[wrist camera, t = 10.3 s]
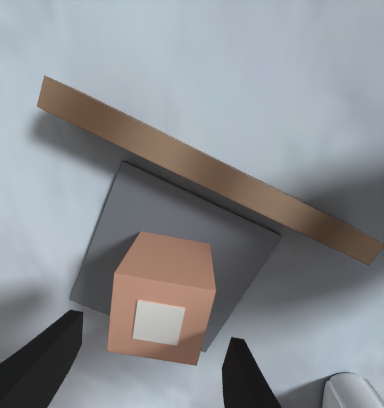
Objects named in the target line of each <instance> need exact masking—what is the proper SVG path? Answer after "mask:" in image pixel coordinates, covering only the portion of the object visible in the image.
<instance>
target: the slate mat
mask: <svg viewBox="0 0 384 408" xmlns="http://www.w3.org/2000/svg"><path fill="white" fill-rule="evenodd" d="M141 231H142V232H147V233H153V234H158V235H164V236H169V237H175V238H180V239H186V240H192V241H197V242H203V243H208V244H210V248H211V256H212V264H213V271H214V279H215V286H216V293H215V297H214V301H213V305H212V308H211V312H210V316H209V320H208V324H207V328H206V332H205V335H204V339H203V343H202V347H201V351H203V352H206V351H207V349H208V348H209V346H210V345H211V343H212V341H213V340H214V338H215V337H216V335H217V334H218V332H219V331H220V329H221V328H222V326H223V325H224V323H225V322H226V320H227V319H228V317H229V316H230V314H231V313H232V311H233V310H234V308H235V307H236V305H237V304H238V302H239V300H240V299H241V297H242V296H243V294H244V293H245V291H246V290H247V288H248V287H249V285H250V284H251V282H252V281H253V279H254V278H255V276H256V275H257V273H258V272H259V270H260V269H261V267H262V266H263V264H264V263H265V261H266V259H267V258H268V256H269V255H270V253H271V252H272V250H273V249H274V247H275V246H276V244H277V243H278V241H279V240H280V238H281V237H282V236H281V235H280V234H278V233H276V232H274V231H272V230H270V229H267V228H265V227H263V226H261V225H259V224H257V223H255V222H253V221H251V220H248V219H246V218H244V217H242V216H240V215H238V214H236V213H234V212H231V211H229V210H227V209H225V208H223V207H221V206H219V205H217V204H215V203H212V202H210V201H208V200H206V199H204V198H202V197H200V196H198V195H195V194H193V193H191V192H189V191H187V190H185V189H183V188H181V187H179V186H176V185H174V184H172V183H170V182H168V181H166V180H164V179H162V178H159V177H157V176H155V175H153V174H151V173H149V172H147V171H145V170H142V169H140V168H138V167H136V166H134V165H132V164H130V163H128V162H126V161H122V163H121V166H120V168H119V171H118V174H117V176H116V179H115V182H114V184H113V187H112V189H111V192H110V195H109V197H108V200H107V203H106V205H105V208H104V211H103V213H102V216H101V219H100V221H99V224H98V227H97V229H96V232H95V235H94V237H93V240H92V242H91V245H90V248H89V250H88V253H87V256H86V258H85V261H84V264H83V266H82V269H81V272H80V274H79V277H78V280H77V282H76V285H75V288H74V290H73V293H72V296H71V298H70V300H71V301H74V302H77V303H79V304H82V305H84V306H87V307H89V308H92V309H95V310H97V311H100V312H102V313H105V314H107V315H110V313H111V303H112V292H113V282H114V273H115V271H116V270H117V268H118V267H119V265H120V263H121V262H122V260H123V259H124V257H125V256H126V254H127V252H128V251H129V249H130V248H131V246H132V244H133V243H134V241H135V240H136V238H137V237H138V235H139V233H140V232H141Z"/></svg>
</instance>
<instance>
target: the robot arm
mask: <svg viewBox="0 0 384 408" xmlns="http://www.w3.org/2000/svg"><path fill="white" fill-rule="evenodd" d="M82 327H83V312H80V311H74V310H69V311H68V312H67V313H65V314H64V315H63V316H62V317H60V318H59V319H58V320H57V321H56V322H54V323H53V324H52V325H51V326H49V327H48V328H47V329H46V330H44V331H43V332H42V333H41V334H39V335H38V336H37V337H35V338H34V339H33V340H32V341H30V342H29V343H28V344H26V345H25V346H24V347H22V348H21V349H20V350H18V351H17V352H16V353H14V354H13V355H12V356H10V357H9V358H7V359H6V360H5V361H3V362H2V363H1V364H0V408H47V407H48V405H49V404H50V402H51V400H52V399H53V397H54V395H55V394H56V392H57V390H58V389H59V387H60V385H61V384H62V382H63V380H64V379H65V377H66V375H67V374H68V372H69V370H70V368H71V366H72V364H73V362H74V360H75V358H76V356H77V354H78V351H79V349H80V347H81V345H82ZM222 383H223V398H224V406H225V408H282V407H281V406H280V404H279V402H278V401H277V399H276V397H275V396H274V394H273V392H272V390H271V389H270V387H269V385H268V383H267V382H266V380H265V378H264V376H263V374H262V373H261V371H260V369H259V367H258V365H257V363H256V361H255V359H254V358H253V356H252V354H251V352H250V350H249V348H248V346H247V344H246V342H245V340H244V339H239V338H234V337H231V340H230V343H229V347H228V350H227V353H226V356H225V360H224V363H223V366H222Z"/></svg>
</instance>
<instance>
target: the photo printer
mask: <svg viewBox="0 0 384 408" xmlns="http://www.w3.org/2000/svg"><path fill="white" fill-rule="evenodd" d="M322 408H384V400H383V398H382V397H381V396H380V394H379V393H378V391H377V390H376V389H375V387H374V386H373V385H372V384H371V383H370V381H369V380H367V379H363V378H361V376H359V375H357V374H354V373H341V374H337V375H334V376H332V377H331V378H330V380H329V381H327V382H326V385H325V388H324V395H323V405H322Z"/></svg>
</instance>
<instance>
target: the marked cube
mask: <svg viewBox="0 0 384 408" xmlns="http://www.w3.org/2000/svg"><path fill="white" fill-rule="evenodd" d="M215 293H216V286H215V279H214V271H213V264H212V256H211V248H210V244H208V243H203V242H197V241H192V240H186V239H180V238H175V237H169V236H164V235H158V234H153V233H147V232H142V231H141V232H140V233H139V235H138V237H137V238H136V240H135V241H134V243H133V244H132V246H131V248H130V249H129V251H128V252H127V254H126V256H125V257H124V259H123V260H122V262H121V263H120V265H119V267H118V268H117V270H116V271H115V273H114V282H113V292H112V303H111V313H110V324H109V334H108V345H107V351H109V352H115V353H122V354H128V355H134V356H140V357H146V358H153V359H159V360H165V361H171V362H177V363H184V364H190V365H196V366H197V362H198V359H199V355H200V351H201V347H202V343H203V339H204V335H205V332H206V328H207V324H208V320H209V316H210V312H211V308H212V305H213V301H214V297H215Z"/></svg>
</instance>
